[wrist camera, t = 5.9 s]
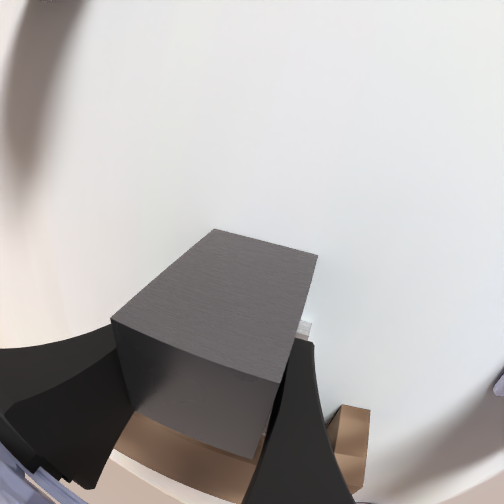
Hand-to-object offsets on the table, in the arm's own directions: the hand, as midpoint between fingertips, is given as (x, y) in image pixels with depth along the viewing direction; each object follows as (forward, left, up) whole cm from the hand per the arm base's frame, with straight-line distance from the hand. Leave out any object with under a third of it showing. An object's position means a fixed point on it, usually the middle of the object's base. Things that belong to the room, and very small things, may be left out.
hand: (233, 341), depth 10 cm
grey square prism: (0, +6, -2) cm, 6 cm away
